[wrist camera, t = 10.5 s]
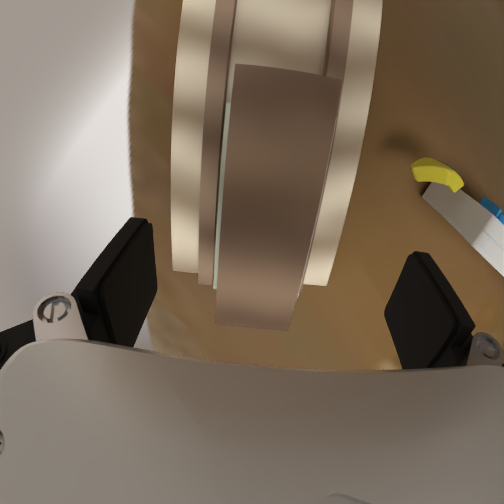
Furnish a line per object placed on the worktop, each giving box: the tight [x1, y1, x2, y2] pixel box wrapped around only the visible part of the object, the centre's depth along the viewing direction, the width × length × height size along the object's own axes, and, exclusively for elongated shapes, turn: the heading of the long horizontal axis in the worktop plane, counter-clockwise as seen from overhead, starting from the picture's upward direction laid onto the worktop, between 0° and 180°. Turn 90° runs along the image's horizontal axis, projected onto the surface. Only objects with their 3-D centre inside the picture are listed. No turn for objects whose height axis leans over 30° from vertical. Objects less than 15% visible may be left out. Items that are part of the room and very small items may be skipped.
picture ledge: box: [171, 0, 383, 294], centre depth 20 cm, size 26×14×3 cm, turn 174°
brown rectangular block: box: [213, 64, 342, 331], centre depth 18 cm, size 14×5×9 cm, turn 174°
